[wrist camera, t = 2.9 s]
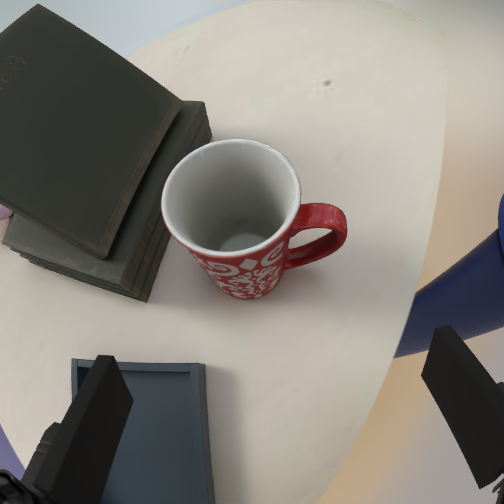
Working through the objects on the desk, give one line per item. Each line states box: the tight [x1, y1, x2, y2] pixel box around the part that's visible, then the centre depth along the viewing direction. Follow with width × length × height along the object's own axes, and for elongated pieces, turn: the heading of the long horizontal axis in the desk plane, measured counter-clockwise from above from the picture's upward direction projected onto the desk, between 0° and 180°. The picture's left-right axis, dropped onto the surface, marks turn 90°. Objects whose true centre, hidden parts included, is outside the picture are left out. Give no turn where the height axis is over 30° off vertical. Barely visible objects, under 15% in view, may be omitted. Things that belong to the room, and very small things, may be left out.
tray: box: [71, 359, 215, 504], centre depth 23 cm, size 14×18×3 cm
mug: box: [161, 139, 347, 299], centre depth 25 cm, size 13×9×14 cm
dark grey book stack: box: [0, 4, 212, 302], centre depth 25 cm, size 23×20×25 cm
